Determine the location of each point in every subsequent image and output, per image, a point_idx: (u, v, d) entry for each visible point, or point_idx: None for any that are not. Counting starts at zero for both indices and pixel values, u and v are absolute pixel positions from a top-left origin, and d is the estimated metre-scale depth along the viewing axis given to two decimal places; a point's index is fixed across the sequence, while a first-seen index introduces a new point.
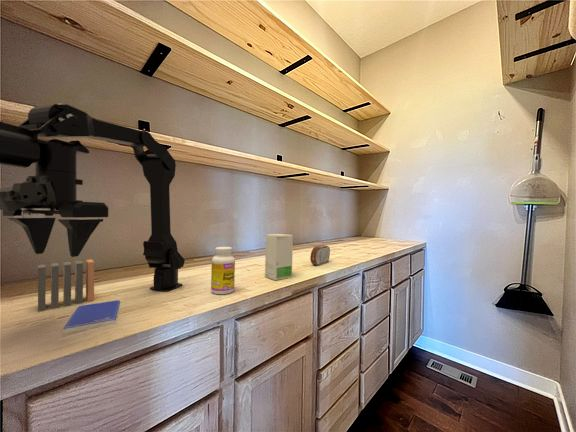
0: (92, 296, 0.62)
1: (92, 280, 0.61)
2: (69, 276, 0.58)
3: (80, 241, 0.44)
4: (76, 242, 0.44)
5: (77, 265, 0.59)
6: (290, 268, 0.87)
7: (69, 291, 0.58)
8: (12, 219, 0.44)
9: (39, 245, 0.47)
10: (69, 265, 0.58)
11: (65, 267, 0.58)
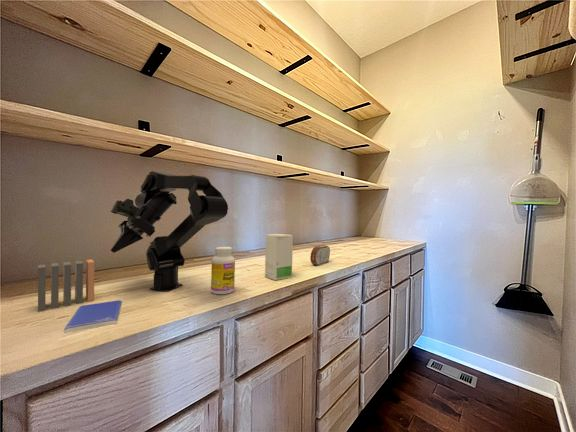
0: (92, 296, 0.62)
1: (92, 280, 0.61)
2: (69, 276, 0.58)
3: (122, 244, 0.66)
4: (119, 243, 0.66)
5: (77, 265, 0.59)
6: (290, 268, 0.87)
7: (69, 291, 0.58)
8: (120, 226, 0.69)
9: None
10: (69, 265, 0.58)
11: (65, 267, 0.58)
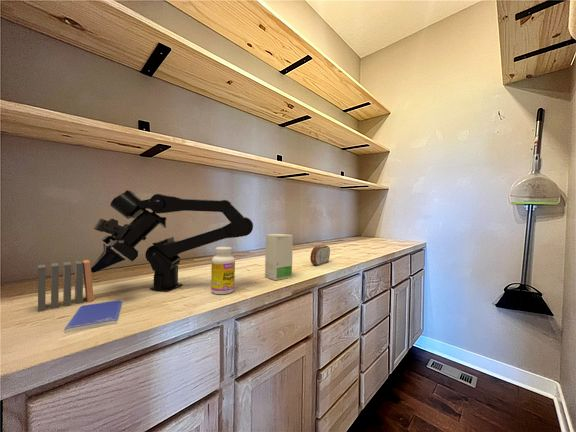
0: (92, 296, 0.61)
1: (90, 280, 0.61)
2: (69, 276, 0.58)
3: (102, 264, 0.64)
4: (100, 263, 0.64)
5: (77, 265, 0.59)
6: (290, 268, 0.87)
7: (69, 291, 0.58)
8: (103, 244, 0.67)
9: None
10: (69, 265, 0.58)
11: (65, 267, 0.58)
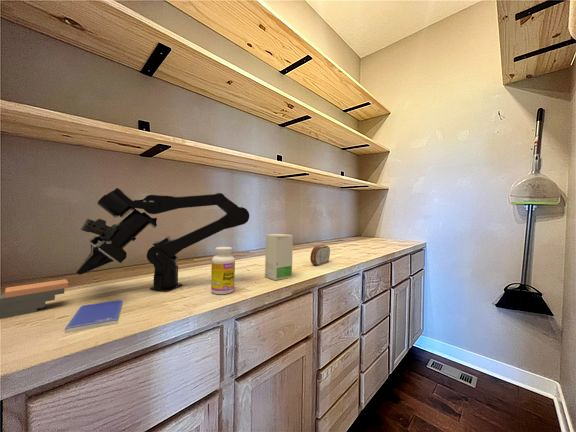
0: (61, 285, 0.58)
1: (36, 288, 0.55)
2: (8, 303, 0.52)
3: (89, 266, 0.62)
4: (87, 265, 0.62)
5: (3, 302, 0.51)
6: (290, 268, 0.87)
7: (33, 299, 0.54)
8: (90, 245, 0.64)
9: None
10: None
11: None
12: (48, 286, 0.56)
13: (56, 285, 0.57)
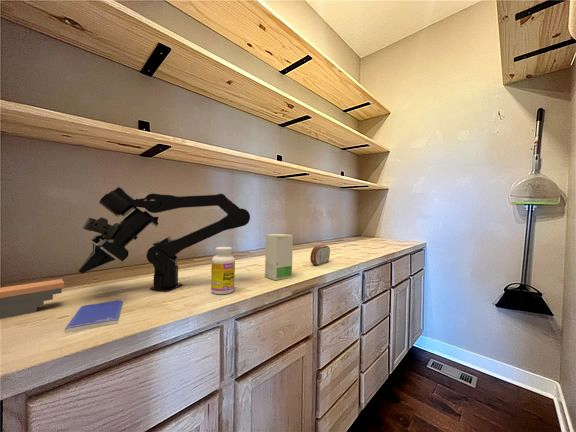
0: (57, 284, 0.57)
1: (32, 288, 0.54)
2: (6, 303, 0.51)
3: (91, 264, 0.62)
4: (89, 263, 0.62)
5: None
6: (290, 268, 0.87)
7: (31, 299, 0.54)
8: (92, 243, 0.65)
9: None
10: None
11: None
12: (44, 286, 0.55)
13: (52, 285, 0.56)
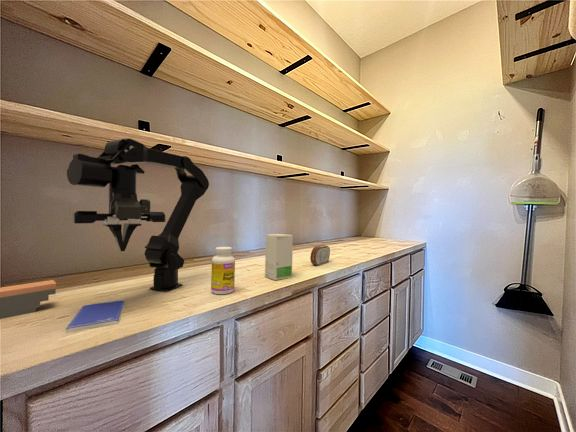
0: (49, 285, 0.56)
1: (23, 289, 0.53)
2: (1, 304, 0.51)
3: None
4: None
5: None
6: (290, 268, 0.87)
7: (26, 300, 0.54)
8: (114, 225, 0.57)
9: None
10: None
11: None
12: (35, 287, 0.55)
13: (43, 286, 0.56)
